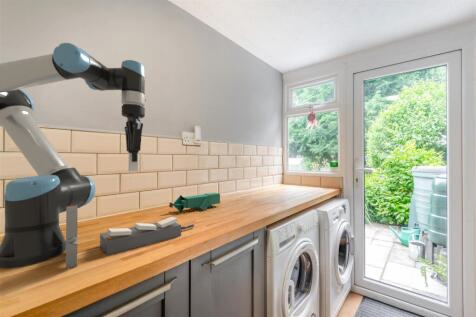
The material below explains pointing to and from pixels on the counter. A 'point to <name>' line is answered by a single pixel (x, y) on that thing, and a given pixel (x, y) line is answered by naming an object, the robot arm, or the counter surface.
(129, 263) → the counter surface
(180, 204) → the toy
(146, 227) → the rocker mid
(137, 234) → the strip
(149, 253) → the counter surface
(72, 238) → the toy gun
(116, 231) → the rocker left
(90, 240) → the counter surface
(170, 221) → the rocker right
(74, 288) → the counter surface
